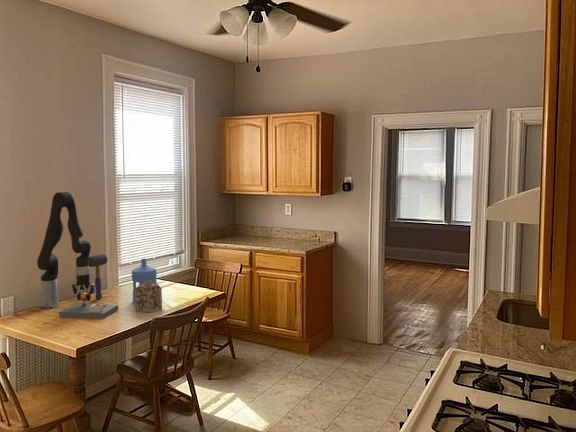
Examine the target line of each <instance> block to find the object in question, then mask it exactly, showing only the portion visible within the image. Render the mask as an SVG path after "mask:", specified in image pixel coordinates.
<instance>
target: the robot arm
mask: <svg viewBox="0 0 576 432" xmlns="http://www.w3.org/2000/svg"><path fill="white" fill-rule="evenodd" d="M52 196H53V197H52V200H51V207H50V215H49V220H48V223H47V226H46V230H45V235H44V239H43V242H42V247H41V249H40V252H39V255H38V257H37V260H36V263H37V264H36V265H37V268H38V269H39V270H40V271H45V272H44V273H43V274H41V277H40V283H41V291H40V295H39V296H40V307H41V308H43V307H44V308H43V309H50V307H52V308H55V307H58V306H59V289H58V275H59V260H58V257H57V255H56V254H53V250H54V248H55V247H56V246H57V245H58V243H59V242H60V241H61V239H62V235H63V232H64V223H63V220H62V218H61V217H62V216H61V215H62V214H61V213H62V210H63V208H66V210H67V214H68V218H67V219H68V220H67V229H68V232H69V234H70V238H71V249H72V251H73V252H74V253H76V254H80V255H79V256H76V258H75V268H76V269H75V276H76V277H75V278H76V282H75V283H71V286H72V290H73V291H72V292H73V294H75V295H76V299H77V301H78V302H79V301H82V300H81V294H80V293H82V290H83V291H84V292H86V293H87V300H86V302H89V301H91V300H92V299H91V295H92V294H94V293H95V283H91V282H90V280H91V279H90V267H89V263H88V258H89V257H90V253H91V250H92V249H91V248H92V247H91V243H90V241H89V240H80V238H82V237H83V236H84V233H83V229H82V227H81V225H80V221H79V218H78V216H79V215H78V211H77V207H76V200H75V198H74V196H73V194H72V193H71V192H68V191H67V192H63V191H61V192H56V193H54V195H52Z"/></svg>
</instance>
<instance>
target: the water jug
mask: <svg viewBox="0 0 576 432" xmlns="http://www.w3.org/2000/svg"><path fill="white" fill-rule="evenodd" d="M140 260H141V262H140V263H141V265H139V266H137V267H135V268H133V269H132V270H131V280H132V286H133V287H132V288H133V289H132V302H133V303H134V304H135V289H136V288H137V283H138V285H140V284H143V283H144V282H145V281H152V283H157V282H158V281H157V275H158V273H157V269H156V268H155V267H152V266H150V265H148V264H147V258H141V259H140ZM157 284H158V283H157Z"/></svg>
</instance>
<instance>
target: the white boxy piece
mask: <svg viewBox="0 0 576 432" xmlns="http://www.w3.org/2000/svg"><path fill="white" fill-rule="evenodd" d="M103 305H104V303H103V304H102V303H93V305H91V306H90V312H101V311H103V310H104V308H103Z"/></svg>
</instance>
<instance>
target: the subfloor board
mask: <svg viewBox="0 0 576 432" xmlns="http://www.w3.org/2000/svg"><path fill="white" fill-rule="evenodd" d="M93 304H94V303H93ZM93 304H92V303H86V306H82V303H75V304H73V305H70V306H68V307H66V308H64V309H63V310H60V311H59V312H58V316H59V318H79V319H80V318H82V319H84V318H85V319H105V318H107V317H108V316H110V315H112V314H114V313H115V312H117V311H118V310H119V305H118V304H103V308H104V310H103V311H101V312H90V306H91V305H93Z"/></svg>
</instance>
